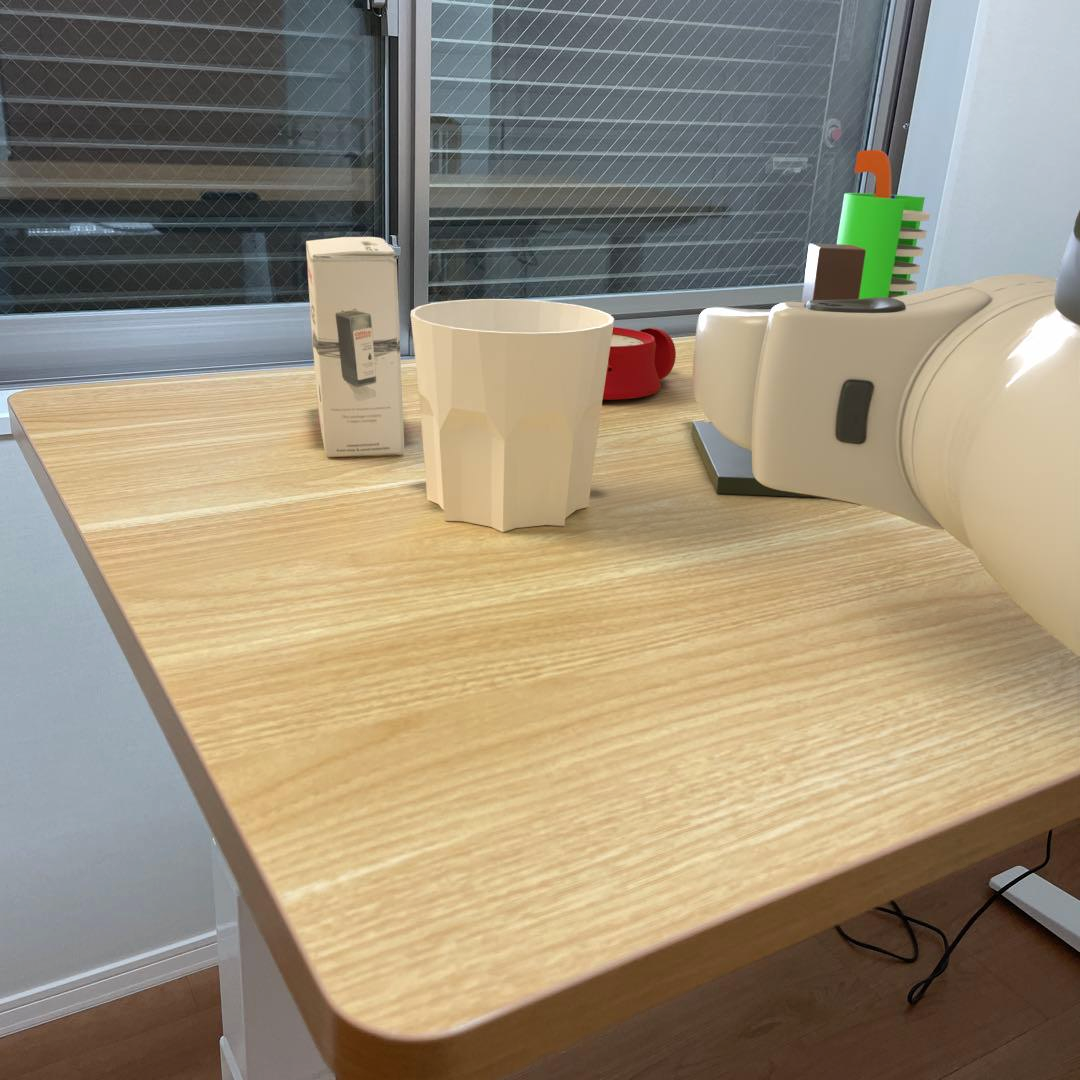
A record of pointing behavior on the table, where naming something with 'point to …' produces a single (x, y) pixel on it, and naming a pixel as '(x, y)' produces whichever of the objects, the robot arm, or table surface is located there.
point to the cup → (510, 407)
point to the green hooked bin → (883, 230)
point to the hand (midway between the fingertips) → (894, 336)
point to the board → (729, 464)
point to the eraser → (833, 272)
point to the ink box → (356, 345)
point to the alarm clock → (637, 362)
